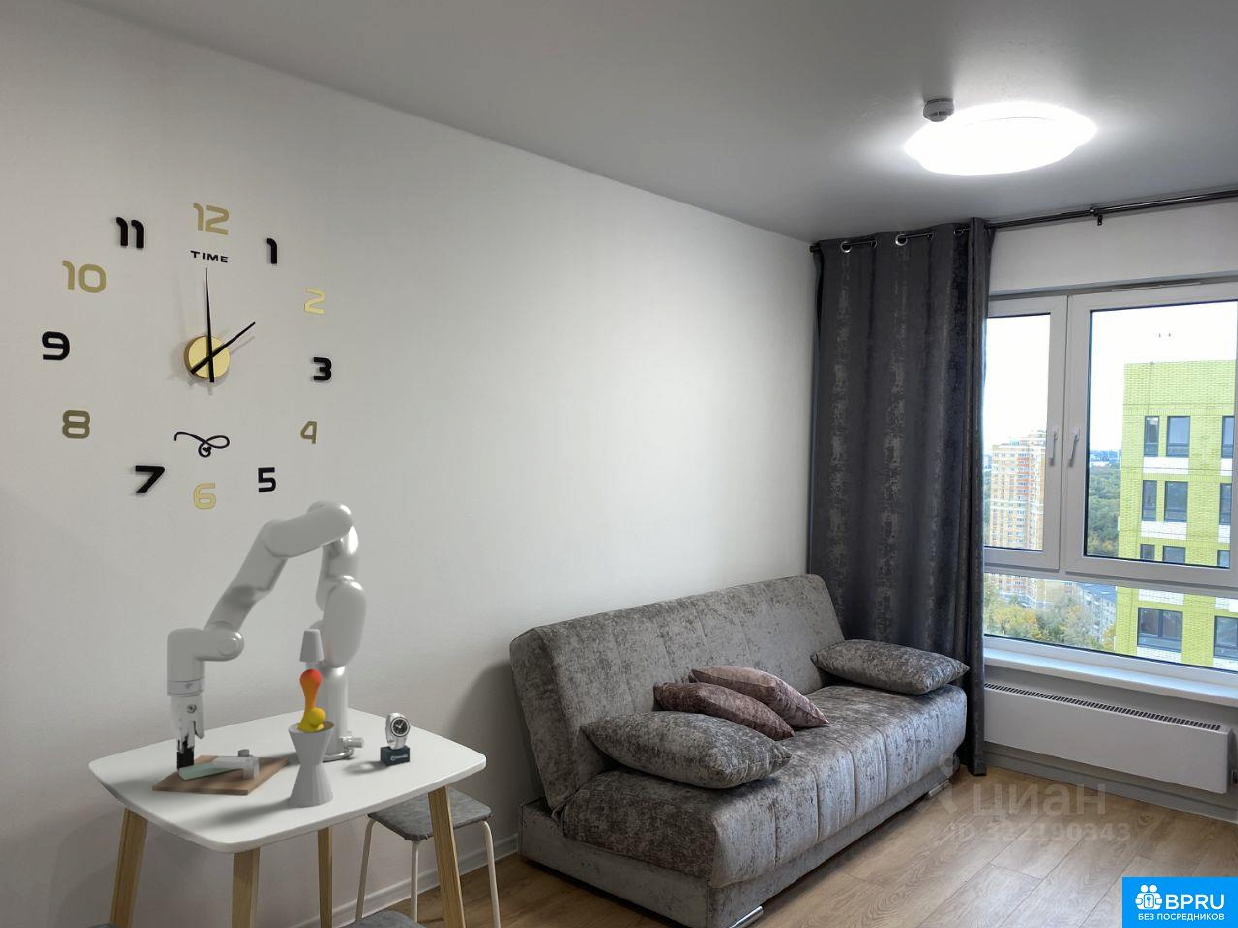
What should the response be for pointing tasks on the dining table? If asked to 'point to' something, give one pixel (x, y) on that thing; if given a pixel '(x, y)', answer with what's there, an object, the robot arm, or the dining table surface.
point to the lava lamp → (311, 732)
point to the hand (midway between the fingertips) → (185, 769)
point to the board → (222, 777)
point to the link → (201, 770)
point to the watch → (396, 740)
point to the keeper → (239, 765)
